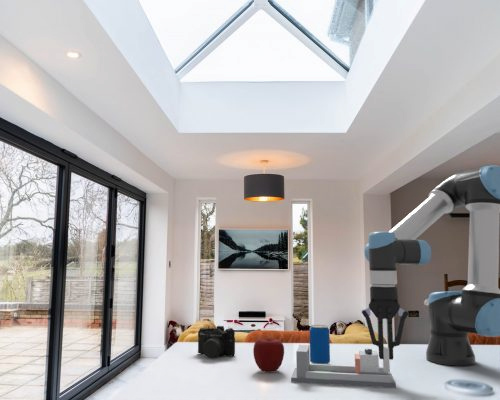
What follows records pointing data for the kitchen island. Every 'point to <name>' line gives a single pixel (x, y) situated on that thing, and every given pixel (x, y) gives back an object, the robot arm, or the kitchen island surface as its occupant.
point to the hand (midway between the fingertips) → (386, 371)
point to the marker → (357, 364)
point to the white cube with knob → (369, 362)
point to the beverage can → (319, 344)
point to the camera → (216, 342)
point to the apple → (268, 354)
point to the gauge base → (336, 373)
